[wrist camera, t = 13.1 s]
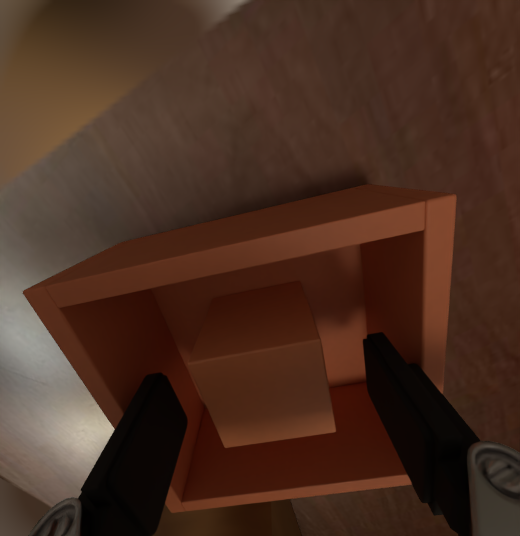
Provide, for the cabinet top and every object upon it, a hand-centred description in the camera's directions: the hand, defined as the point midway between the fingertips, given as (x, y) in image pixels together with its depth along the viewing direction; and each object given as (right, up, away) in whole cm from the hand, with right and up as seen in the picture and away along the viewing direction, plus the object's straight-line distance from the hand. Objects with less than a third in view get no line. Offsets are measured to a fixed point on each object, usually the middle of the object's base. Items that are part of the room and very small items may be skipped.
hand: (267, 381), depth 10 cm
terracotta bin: (0, +2, +4) cm, 4 cm away
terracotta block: (0, +1, +4) cm, 4 cm away
